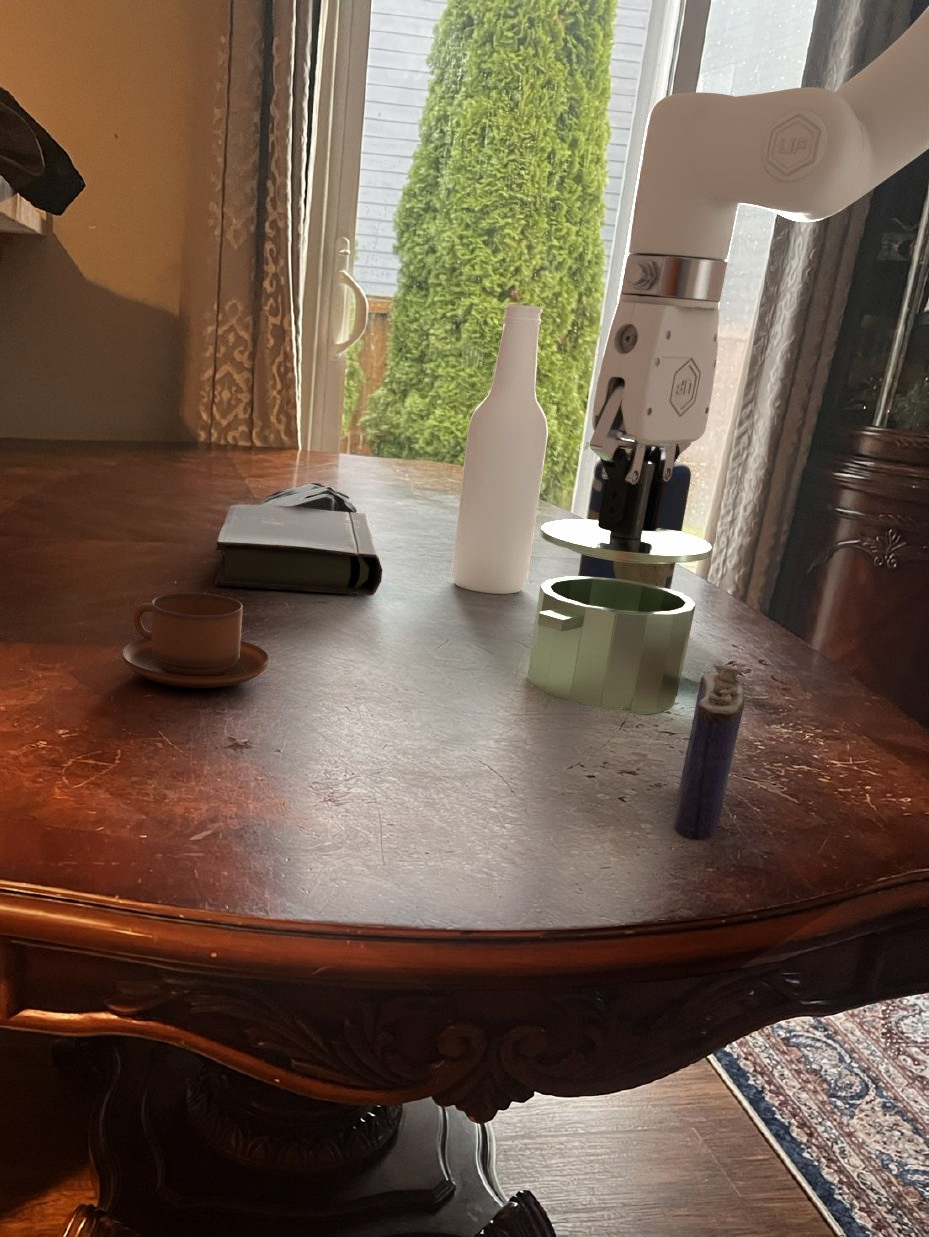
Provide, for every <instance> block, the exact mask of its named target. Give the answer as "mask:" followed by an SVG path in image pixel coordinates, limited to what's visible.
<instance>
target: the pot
mask: <svg viewBox="0 0 929 1237" xmlns="http://www.w3.org/2000/svg"><path fill="white" fill-rule="evenodd" d="M538 592H539V593H538V599H537V606H536V612H535V613H536V614H535V618H534V619H535V620H534V626H533V634H532V639H531V647H530V654H529V660H528V668H527V674H526V675H527V678H528V680H529V683H530V684H531V685H533V686H534V687H536V688H537V689H539V690H541V691H542V692H543V693H545V694H548V695H551V696H554V697H556V698H559V699H562V700H566V701H567V702H571V703H577V704H581V705H587V706H592V707H596V708H604V709H616V710H623V711H626V712H629V713H632V714H635V715H638V716H646V715H654V714H658V713H662V712H663V713H664V712H665V711H667V710H669V709H672V708H673V706H675V703H676V698H677V697H678V694H679V689H680V684H681V679H682V675H683V669H684V664H685V660H686V655H687V649H688V644H689V639H690V635H691V631H692V630H691V629H692V624H693V620H694V616H695V610H696V603H695V602H694V601H693V600H692V599H691V598H690V597H689V596H686V594H685V593H684V592H680V591H675V590H672V589H666V588H662V587H658V586H654V585H650V584H646V583H641V582H634V581H628V580H622V579H612V578H600V577H578V576H564V577H557V578H553V579H547V580H546V581H545V582H543V583H542V584H540V586H539V591H538Z"/></svg>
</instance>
